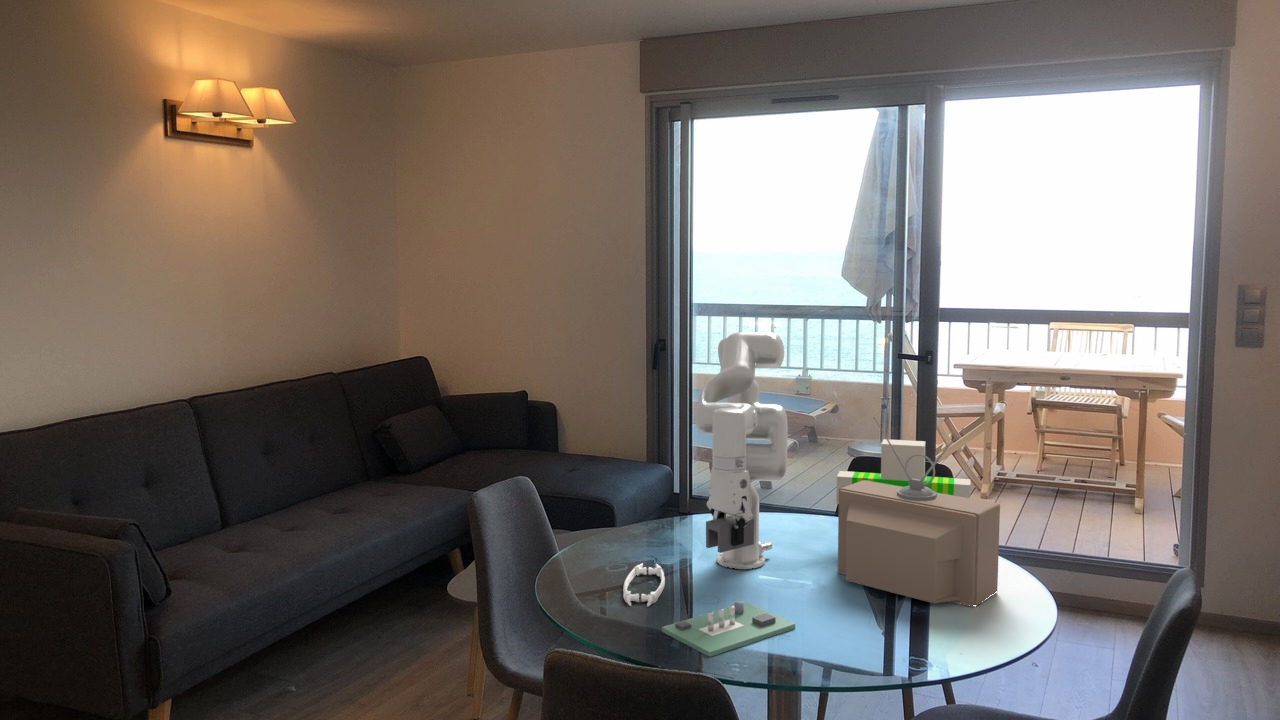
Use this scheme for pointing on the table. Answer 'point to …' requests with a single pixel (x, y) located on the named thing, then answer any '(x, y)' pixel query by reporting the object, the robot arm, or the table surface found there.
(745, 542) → the block
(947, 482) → the toy
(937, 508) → the television
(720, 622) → the pins
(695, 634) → the board
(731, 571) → the table surface
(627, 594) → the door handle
